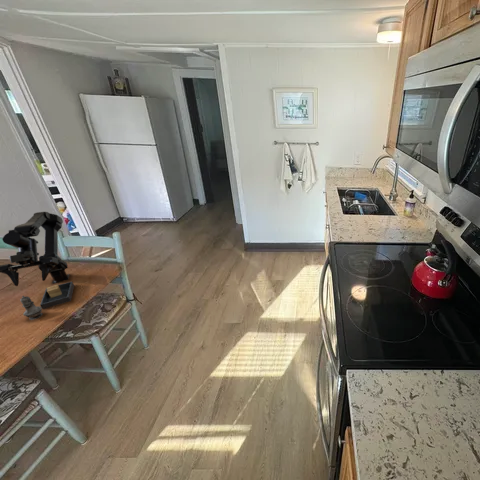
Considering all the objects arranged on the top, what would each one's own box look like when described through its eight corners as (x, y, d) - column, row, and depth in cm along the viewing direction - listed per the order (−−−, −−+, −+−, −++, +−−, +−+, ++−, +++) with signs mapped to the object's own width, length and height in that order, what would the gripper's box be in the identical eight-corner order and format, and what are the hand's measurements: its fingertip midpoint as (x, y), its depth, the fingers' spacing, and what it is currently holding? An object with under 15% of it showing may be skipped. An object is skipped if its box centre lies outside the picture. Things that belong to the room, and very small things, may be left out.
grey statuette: (34, 322, 115) (19, 301, 110) (23, 320, 117) (8, 299, 111) (49, 313, 121) (35, 292, 115) (38, 311, 122) (25, 290, 116)
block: (50, 294, 132) (46, 287, 130) (61, 290, 134) (57, 284, 132) (51, 298, 129) (47, 291, 127) (61, 294, 132) (58, 287, 130)
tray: (49, 292, 134) (46, 288, 132) (74, 286, 139) (72, 281, 137) (43, 309, 123) (39, 304, 121) (71, 301, 128) (68, 296, 126)
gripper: (-15, 250, 111) (-13, 286, 108) (43, 241, 119) (46, 274, 115) (5, 256, 121) (7, 289, 118) (57, 248, 129) (60, 279, 125)
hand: (30, 283), depth 119 cm, fingers open, 9 cm apart
